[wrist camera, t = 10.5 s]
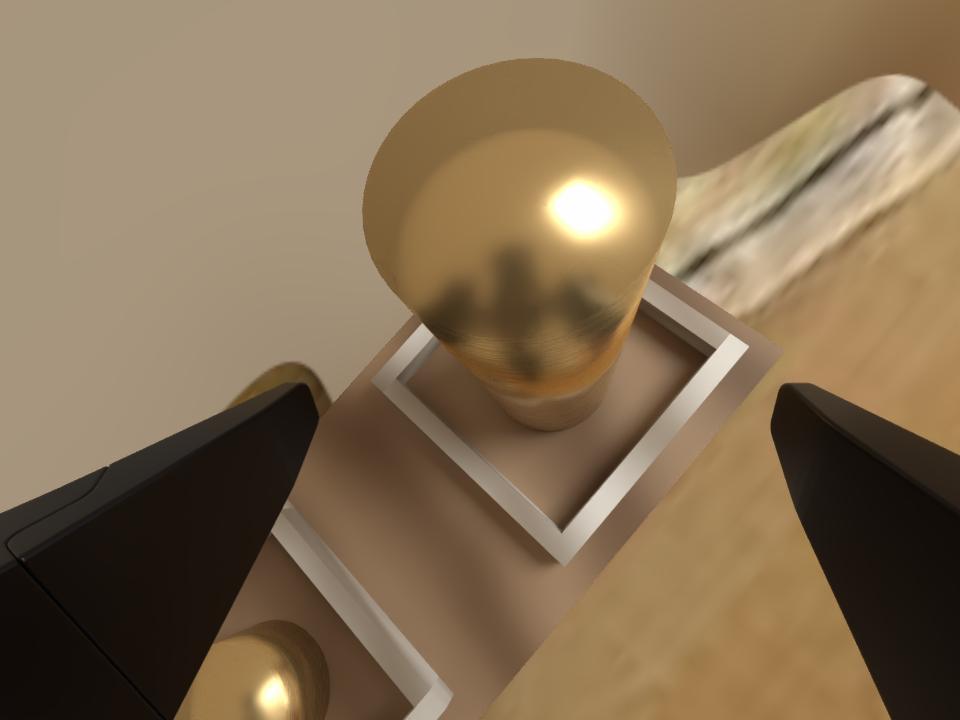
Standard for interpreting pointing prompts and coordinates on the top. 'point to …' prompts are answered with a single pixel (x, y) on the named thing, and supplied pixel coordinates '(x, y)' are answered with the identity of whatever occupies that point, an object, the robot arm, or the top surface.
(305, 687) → the short bronze billet
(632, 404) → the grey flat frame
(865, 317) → the top surface
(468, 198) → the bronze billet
